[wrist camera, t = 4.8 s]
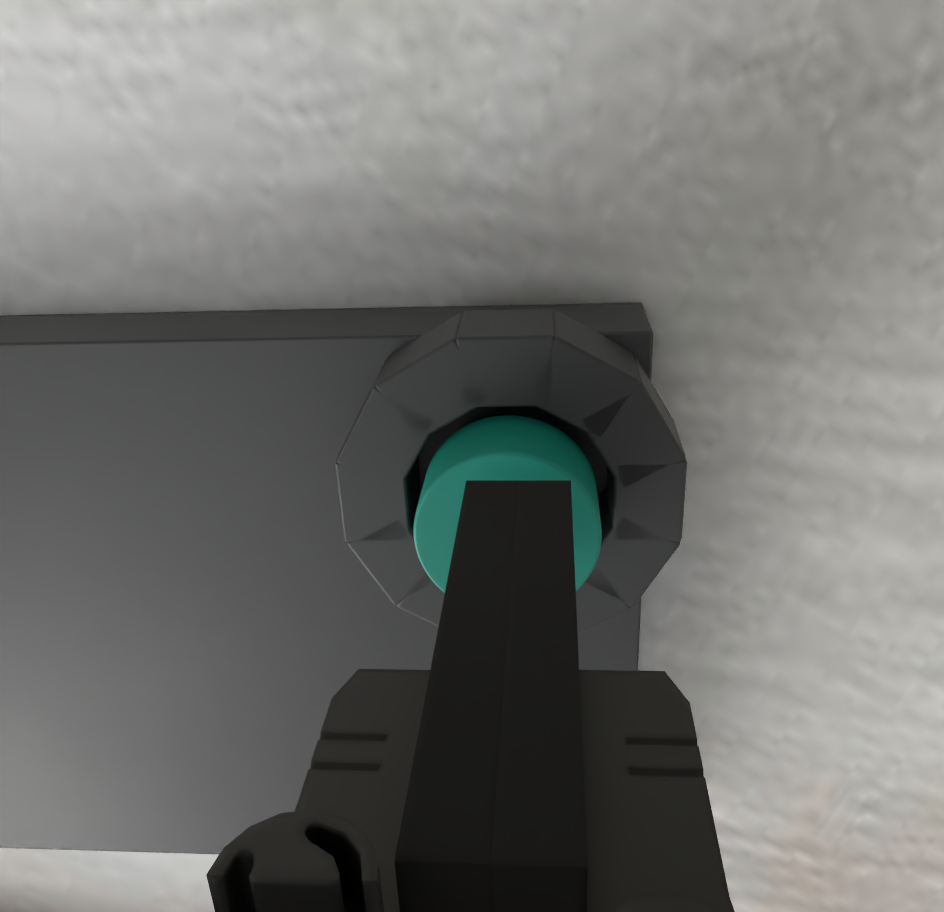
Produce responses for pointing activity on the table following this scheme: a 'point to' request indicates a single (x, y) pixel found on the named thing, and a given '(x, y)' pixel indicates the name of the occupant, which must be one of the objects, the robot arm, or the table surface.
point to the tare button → (503, 458)
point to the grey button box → (267, 537)
